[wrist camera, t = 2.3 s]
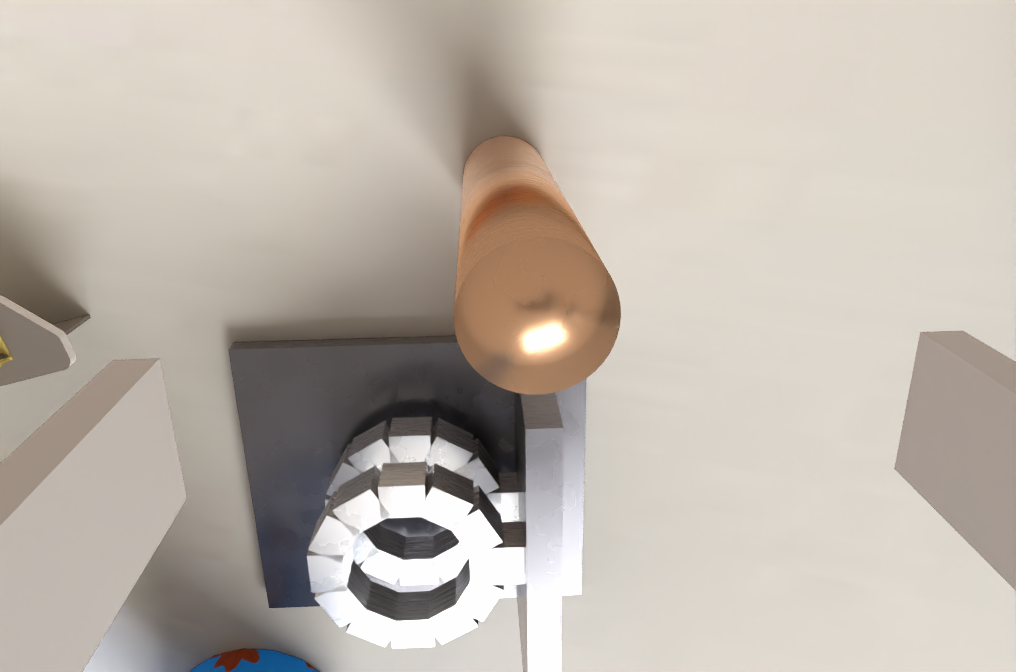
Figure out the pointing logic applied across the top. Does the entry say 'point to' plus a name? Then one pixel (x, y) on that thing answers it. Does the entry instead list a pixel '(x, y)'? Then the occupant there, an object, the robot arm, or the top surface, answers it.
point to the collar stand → (411, 489)
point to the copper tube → (528, 276)
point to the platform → (32, 343)
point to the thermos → (254, 662)
